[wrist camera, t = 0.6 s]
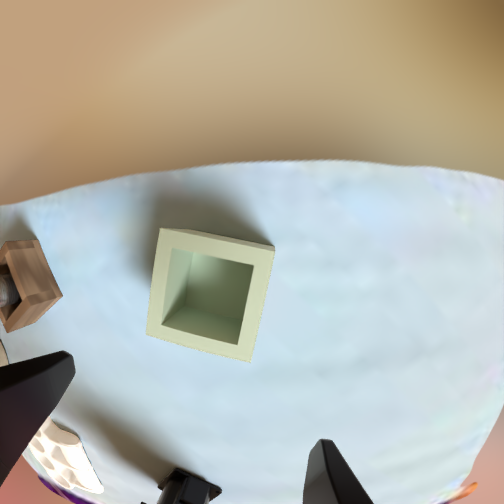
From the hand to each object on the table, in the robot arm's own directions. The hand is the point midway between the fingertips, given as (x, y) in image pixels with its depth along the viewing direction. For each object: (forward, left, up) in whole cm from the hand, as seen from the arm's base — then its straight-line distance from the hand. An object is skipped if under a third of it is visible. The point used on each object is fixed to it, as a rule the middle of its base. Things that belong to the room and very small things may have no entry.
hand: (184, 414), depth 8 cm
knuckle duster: (-38, +10, -15) cm, 42 cm away
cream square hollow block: (+1, +2, -15) cm, 15 cm away
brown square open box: (-12, +20, -15) cm, 28 cm away
